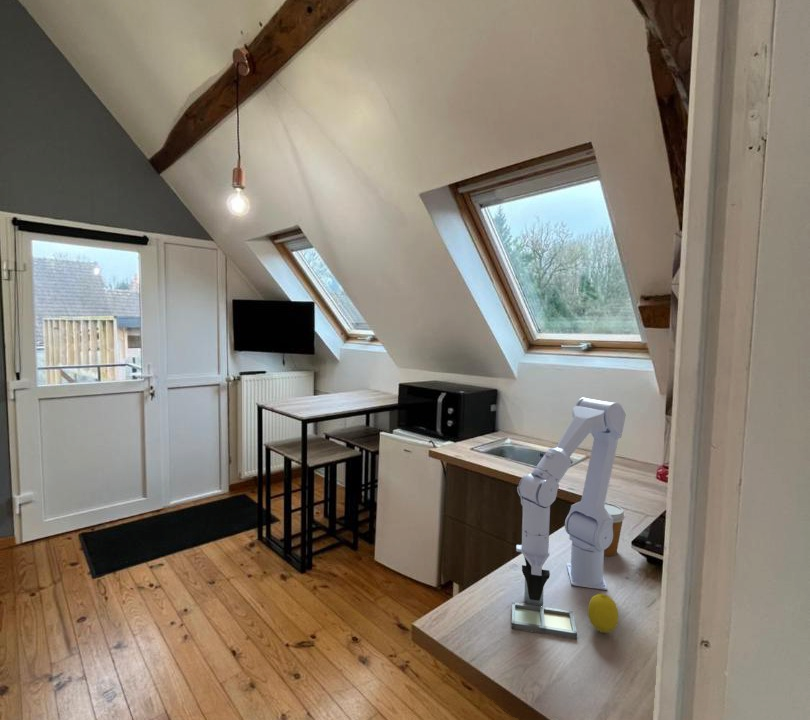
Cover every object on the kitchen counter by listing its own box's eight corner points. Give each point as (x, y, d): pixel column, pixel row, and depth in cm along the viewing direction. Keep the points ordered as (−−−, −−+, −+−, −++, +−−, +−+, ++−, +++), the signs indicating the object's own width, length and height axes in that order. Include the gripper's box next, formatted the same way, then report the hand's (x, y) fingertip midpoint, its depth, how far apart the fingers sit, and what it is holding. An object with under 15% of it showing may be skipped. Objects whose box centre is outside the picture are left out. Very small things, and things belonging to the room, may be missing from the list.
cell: (524, 595, 99) (524, 565, 99) (542, 598, 98) (543, 568, 98) (524, 606, 95) (525, 575, 95) (543, 609, 95) (544, 578, 94)
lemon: (608, 622, 90) (610, 585, 90) (622, 641, 85) (624, 602, 84) (582, 623, 90) (583, 586, 90) (595, 642, 85) (596, 603, 84)
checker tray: (511, 607, 95) (511, 602, 95) (572, 616, 92) (572, 611, 92) (511, 628, 88) (511, 622, 88) (576, 639, 85) (577, 633, 85)
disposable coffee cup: (631, 555, 117) (633, 512, 116) (603, 562, 114) (605, 517, 113) (604, 539, 126) (606, 499, 125) (577, 544, 123) (579, 503, 122)
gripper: (516, 514, 104) (515, 568, 105) (517, 543, 90) (515, 605, 91) (547, 517, 102) (545, 572, 103) (553, 547, 88) (550, 611, 89)
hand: (533, 588), depth 97 cm, fingers open, 7 cm apart
